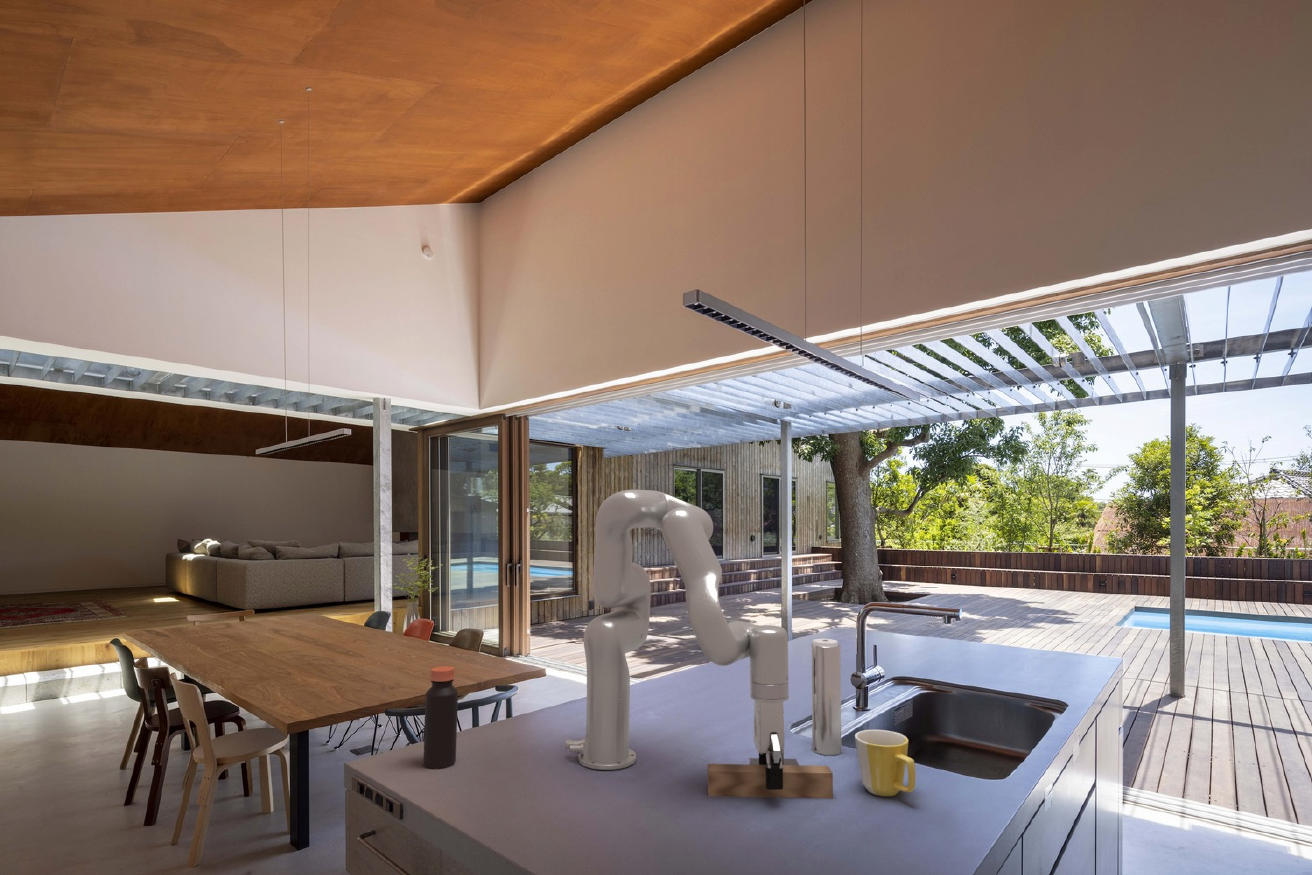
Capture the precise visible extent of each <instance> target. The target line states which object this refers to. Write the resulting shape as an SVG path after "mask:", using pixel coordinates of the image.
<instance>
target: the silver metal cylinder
mask: <svg viewBox="0 0 1312 875" xmlns="http://www.w3.org/2000/svg"><path fill="white" fill-rule="evenodd" d="M838 642H839V641H838V640H836V639H831V638H815V639H813V640H812V643H811V705H812V706H811V711H812V712H811V713H812V714H811V716H812V717H811V719H812V720H811V726H812V729H811V730H812V731H811V732H812V734H811V735H812V736H811V737H812V738H811V739H812V741H811V742H812V745H811V746H812V751H813V752H814V753H816V754H818V755H823V756H837V755H840V754H841V753H842V693H841V692H842V688H841V687H842V686H841V682H842V680H841V679H842V678H841V677H842V675H841V668H842V667H841V666H842V665H841V645H840V644H839V643H838Z"/></svg>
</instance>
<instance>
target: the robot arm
mask: <svg viewBox="0 0 1312 875" xmlns="http://www.w3.org/2000/svg"><path fill="white" fill-rule="evenodd" d="M596 513H597V514H596V517H595V546H594V547H595V548H594V556H593V557H594V558H593V560H594V561H593V575H592V595H593V596H592V597H593V599H594V601H595V603H596V604H597V605H598V606H600V607H603V608H607V609H613V611H611V612H608V613H604V614H601V615H598V616H597V617H595V618H593V619H592V620H591V621H590V622H589V623H588V624H587V626H586V627H585V630H584V632H583V648H584V654H585V663H586V725H585V729H586V730H585V731H586V732H585V736H584V738H580V740H575V739H565V749H566V750H569V752H570V753H577V752H578V753H579V754H578V763H579V764H580V765H582V766H583V767H586V768H589V769H593V770H599V771H611V770H612V771H614V770H620V769H625V768H628V767H630V766H632V765H633V764H635V762H636V760H637V753H636V752H635V751H634V750H632V749H631V748H630V717H631V716H630V714H631V713H630V710H631V709H630V707H631V706H630V705H631V704H630V702H631V700H630V698H631V686H630V685H631V683H630V682H631V679H630V678H631V676H630V669H629V665H628V661H627V658H626V654H627V653H630V652H632V651H636V650H638V649H639V648H641V647H642V646H643V644H644V643H645V642H646V640H647V638H648V635H649V629H650V628H649V627H650V615H651V598H652V597H651V596H652V593H651V592H652V584H651V580H650V576H649V574H648V572H647V571H646V569H645V568H644V567H643V566H642V565H640V564H639V563H636V562H633V553H634V544H633V539H632V536H631V533H630V532H631V530H633V529H638V528H639V529H641V528H654V529H656V530H658V531H661V535H662V536H663V539H664V542H665V544H666V546H667V548H668V550H669V553H670V555H671V557H672V559H673V561H674V564H675V566H676V569H677V570H678V572H679V575H680V576H681V580H682V582H683V584H684V588H685V601H686V609H687V615H688V619H689V624H690V627H691V628H692V631H693V634H694V636H695V638H696V641H697V642H698V645H699V647H700V649H701V650H702V652H703V654H704V656H705V657H706V658H707V659H708V660H709V661H710V662H711V663H713V664H714V665H717V666H720V667H721V666H722V667H727V666H729V665H732V664H734V663H736V662H738V661H739V660H740V661H741V660H744V659H746V658H749V669H750V670H749V675H750V676H749V680H750V683H749V685H750V686H749V687H750V688H749V689H750V690H749V691H750V692H749V693H750V696H749V697H750V699H752V700H754V704H753V743H754V745H755V747H756V750H757V753H758V758H759V765H767V767H766V788H767V789H768V790H782V789H783V767H782V758H781V754H783V752H784V753H785V711H784V710H785V709H784V707H785V706H784V702H786V701H788V700H789V698H790V695H789V690H790V689H789V638H788V636H789V635H788V632H787V630H786V629H785V628H784V627H783V626H779V625H769V624H768V625H767V624H766V625H765V624H764V625H759V624H755V623H754V624H753V623H750V622H746V621H741V620H736V621H735V620H734V621H730V622H728V621H727V618H726V616H725V615H724V611H723V610H722V607H721V603H720V600H719V586H720V583H721V580H722V576H723V569H722V566H721V564H720V561H719V560H718V557H717V556H716V554H715V551H714V549H713V547H712V545H711V543H710V541H709V540H710V538H711V537H712V535H713V532H714V524H713V523H714V522H713V519H712V518H711V516H710V514H709V513H708V512H707V511H706V510H704V509H703V508H701V507H700V506H696V505H694V504H691V503H689V502H687V501H684V500H682V499H679V498H677V497H675V496H672V495H669V494H668V493H665V492H663V491H659V490H653V489H652V490H650V489H625V490H621V491H618V492H615V493H613V494H611V495H610V496H608V497H607V498H605V500H604V501H603V502H602V503H601V504H600V506H599V508H598V510H597V512H596ZM771 749H772V750H771Z"/></svg>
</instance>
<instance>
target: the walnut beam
mask: <svg viewBox="0 0 1312 875" xmlns="http://www.w3.org/2000/svg"><path fill="white" fill-rule="evenodd" d="M766 767H767V765H750V764H743V763H742V764H740V763H738V764H737V763H731V764H730V763H707V793H708V797H718V796H720V797H724V798H725V797H728V798H733V797H734V798H735V797H736V798H778V799H779V798H782V799H783V798H784V799H790V798H791V799H834V786H833V785H834V781H833V780H834V779H833V778H834V776H833V775H834V774H833V771H832V770H831V767H829V765H800V764H799V765H782V767H783V789H782V790H768V789H767V788H766Z"/></svg>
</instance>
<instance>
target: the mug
mask: <svg viewBox="0 0 1312 875" xmlns="http://www.w3.org/2000/svg"><path fill="white" fill-rule="evenodd" d="M854 739H855V747H856V751H857V752H856V753H857V758H858V764H859V770H860V771H859V772H860V778H861V783H862V784H863V786H864V788H865V789H867V791H868V792H869V793H870V794H872V795H875V796H879V797H893V796H896V795H898V793H899V792H900V791H901V792H905V793H911V792H914V790H915V787H916V765H915V764H916V763H915V760H914V759H913V758H911V757H909V756H908V748H909V739H908V738H907V736H906V735H904V734H902V733H899V732H897V731H896V732H895V731H890V730H885V729H864V730H861V731H858V732H856V733H855V735H854ZM906 767H907V786H906V785H904V780H905V771H906Z"/></svg>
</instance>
